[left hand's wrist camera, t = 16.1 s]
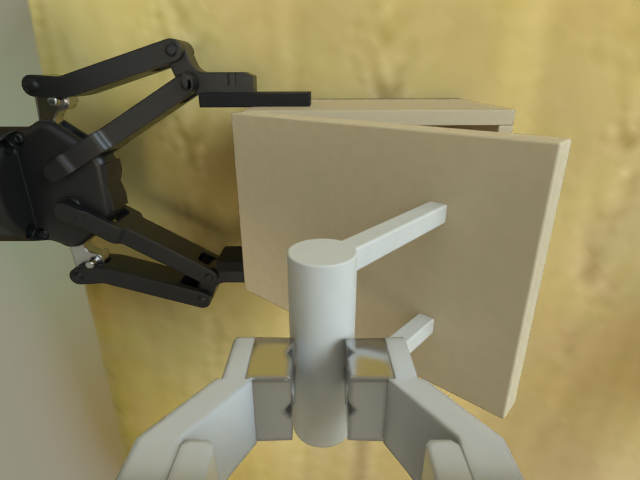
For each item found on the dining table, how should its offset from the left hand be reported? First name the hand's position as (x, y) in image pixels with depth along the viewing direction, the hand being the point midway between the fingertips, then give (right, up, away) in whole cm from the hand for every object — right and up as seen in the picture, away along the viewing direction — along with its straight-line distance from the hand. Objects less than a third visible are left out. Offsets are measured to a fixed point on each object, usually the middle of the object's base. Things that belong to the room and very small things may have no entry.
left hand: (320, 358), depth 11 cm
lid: (+2, +3, +8) cm, 9 cm away
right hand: (-1, +7, +17) cm, 18 cm away
